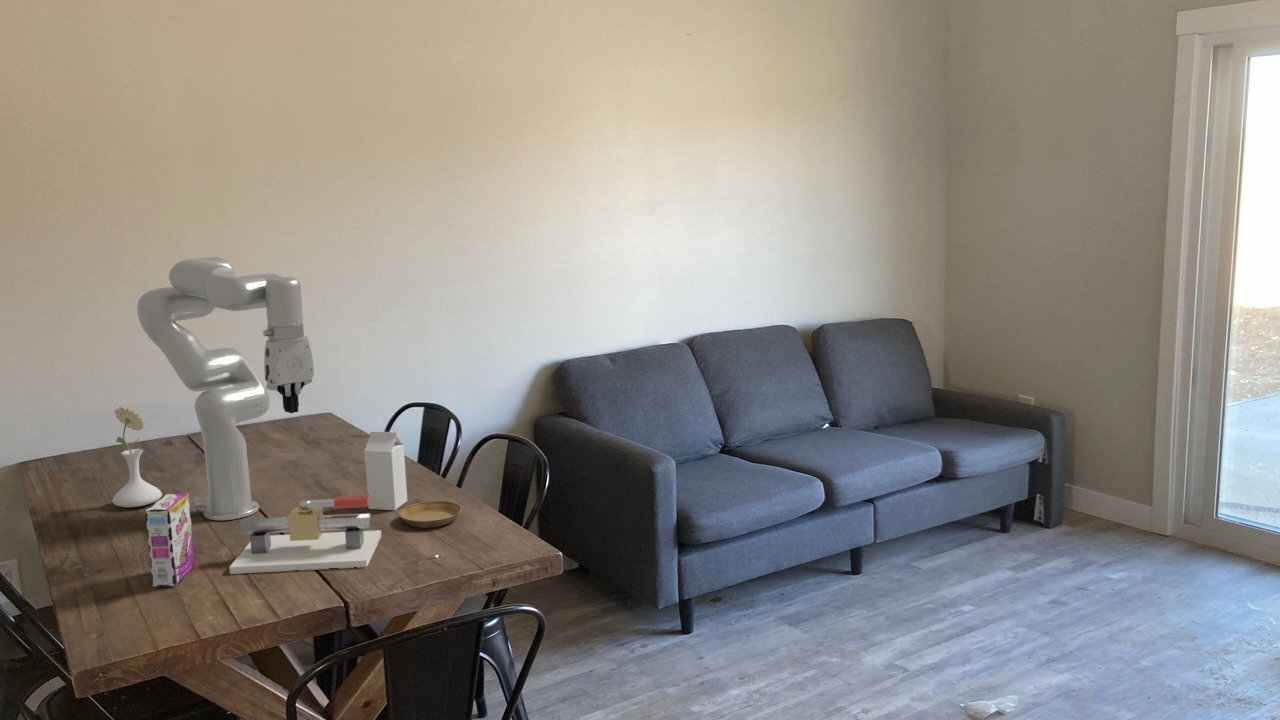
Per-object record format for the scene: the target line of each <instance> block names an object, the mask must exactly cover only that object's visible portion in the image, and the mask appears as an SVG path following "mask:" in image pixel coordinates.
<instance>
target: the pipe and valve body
mask: <svg viewBox="0 0 1280 720" xmlns="http://www.w3.org/2000/svg"><path fill="white" fill-rule="evenodd" d="M371 526H372V514H371V512H368V513H367V512H365V513H344V514H343V513H342V514H324V507H310V508H305V509H301V508H299V506H297V507H293V509H292V510H291V512H290V513H289V514H288V516H278V517H277V516H276V517H256V518H241V520H240V524H239V529H240V533H241V534H242V535H245V534H248V535H249V534H250V535H249V539H250V542H251V552H252V554H261V553H267V551H268V550H269V549H270V547H271V539H270V536H271V534H272V533H288V532H289V534H288V535H290V541H301V540H319V538H320V537H321V535H322V534H323V533H325V531H331V530H333V531H335V530H345V531H344V532H345V537H346V549H361V547H362V545H363V543H364V535H363V531H364V529H371ZM250 542H249V543H250Z"/></svg>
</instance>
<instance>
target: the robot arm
mask: <svg viewBox="0 0 1280 720" xmlns="http://www.w3.org/2000/svg"><path fill="white" fill-rule="evenodd" d="M168 273H169V275H168V280H169V283H170V285H171V286H166V287H160V288H159V287H158V288H155V289H152V290H149V291H147V292H144V293H143V294H142V295H141V296H140V298H139V299H138V300H137V301H138V302H137V307H136V308H137V309H136V310H137V311H136V312H137V318H138V322H139V323H140V326H141V327H142V329H143V331H144V332H145V334H146V335H147V337H148V338H149V339H150V340H151V342H153V343H154V344H155V346H156V347H158V348H159V350H160V351H161V352H162V353H163V354H164V356H165V358H166V360H168V362H169V364H170V365H171V367H172V368H173V370H174V371H175V372H176V374H177V376H178V377H179V379H180V381H181V382H182V383H183V384H184V386H185V387H186V388H187V389H188V390H190V391H192V392H201V393H200V394H199V395H198V396H197V398H196V400H195V403H194V411H195V415H196V417H197V420H198V423H199V427H200V432H201V438H202V443H203V445H202V446H203V451H204V459H205V460H204V461H205V469H206V478H207V487H208V490H207V491H208V495H206V496H205V497H202V496H199V497H194V496H193V497H192V505H193V507H195V508H201V507H204V508H205V509H204V510H203V516H204V518H206V519H208V520H211V521H231V520H236V519H243V518H245V517H249V516H251V515H254V514H255V513H256V512H258V511H259V510H260V505H259V503H258V502H257V501H255V500H252V492H251V491H252V490H251V483H250V470H249V461H248V449H247V443H246V439H245V437H244V435H243V434H242V432H241V431H240V430H239V429H238V428H237V426H236V424H239V423H240V422H241V423H242V422H245V421H249V420H252V419H256V418H259V417H262V416H263V415H265V414H266V413H267V412H268V411H269V410H270V405H271V404H270V403H271V400H270V396H269V392H268V391H269V390H270V391H275V392H278V393H279V395H280V396H282V407H283V409H284V412H286V413H289V414H294V413H299V405H300V403H299V395H300V394H301V391H302V390H303V388H304V387H305V386H307V385H308V384H311V383H312V382H313V380H312V379H313V378H314V376H315V366H314V359H313V353H312V348H311V344H310V341H309V338H308V336H305V334H304V333H305V331H304V319H303V318H304V316H303V304H302V303H303V302H302V301H303V299H302V287H301V282H300V280H299V279H298V278H297V277H292V276H281V275H278V274H274V273H261V274H253V275H251V274H250V275H243V276H236V274H235V271H234V269H233V267H232V265H231V264H230V263H229V262H228V261H227V260H225V258H221V257H219V256H218V257H216V256H211V257H200V258H191V259H184V260H180V261H178V262H177V263H175V264H174V265H173V266H172V267H171V269H170V270H169V272H168ZM265 308H266V321H267V327H266V329H265V330H263V331H262V335H263V336H264V337H267V338H268V339H266V340H265V345H264V356H263V357H264V358H263V359H264V360H263V370H264V371H263V372H264V379H265V382H266V387H265V385H264V383H263V382H262V380H261V378H260V377H259V376H258V375H257V372H255V370H254V369H253V367H252V366H251V364H250V362H249V360H247V359H246V357H245V355H243V354H242V353H241V352H240V351H239V350H236V349H235V348H231V347H222V348H216V349H208V348H205V346H204V345H203V344H202V343H201V341H200V340H199V338H198V336H197V335H196V334H195V333H194V332H192V331H191V330H190V329H188V328H186V327H185V326H183V325H181V324H179V323H177V321H178V322H179V321H184V320H192V319H199V318H203V317H206V316H209V315H210V314H212V312H213V311H215V309H221V310H226V311H233V312H244V311H249V310H256V309H265Z"/></svg>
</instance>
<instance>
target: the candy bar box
mask: <svg viewBox="0 0 1280 720" xmlns="http://www.w3.org/2000/svg"><path fill="white" fill-rule="evenodd" d="M144 512H145V522H146V533H147V543H148V545H147V546H148V552H149V562H150V563H149V564H150V572H151V574H150V575H151V580H152V581H151V582H152V583H151V584H152V588H174V587H177V586H178V585H179V583H180V582H182V580H183V579H185V577H186V576H187V575H188V574H189V573H190V572H191V571H192V569H194V568H195V567H196V564H195V563H196V562H195V552H194V542H193V530H192V516H191V507H190V495H189V493H173V494H172V493H169V494H168V493H167V494H165V495H163V496H161V498H160V499H158V500H157V501H155V502H154V504H153V503H152V505H150V507H148V508H147V509H146V510H144Z"/></svg>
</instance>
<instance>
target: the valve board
mask: <svg viewBox="0 0 1280 720" xmlns="http://www.w3.org/2000/svg"><path fill="white" fill-rule="evenodd" d="M363 535H364V543H363V545H362V547H361V549H346V537H345V531H341V532H339V531H336V532H323V534H322V535H321V537H320V538H319V540H301V541H290V535H289V534H277V535H276V534H275V535H271V534H270V539H271V547H270V549H269V550H268V551H267V553H261V554H252V552H251V542H248V544H247V545H246V546H245V547H244V548H243V550H242V551H241V552H240V554H238V556H237V557H236V558H235V560H234V561H233V562H232V563H231V564H230V566H229V568H228V569H229V574H230V575H234V574H235V575H239V574H255V573H256V574H257V573H275V572H278V573H279V572H295V570H299V571H314V570H316V571H317V570H330V569H329V568H339V569H354V567H357V569H358V568H359V569H360V568H367V567H368V566H369V564H370V561H371V560H372V557H373V555H374V553H375V551H376V548H377V546H378V544H379V543H378V542H380V541H381V538H382V530H381V529H380V530H379V529H377V530H363ZM379 540H380V541H379ZM293 570H294V571H293Z"/></svg>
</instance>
